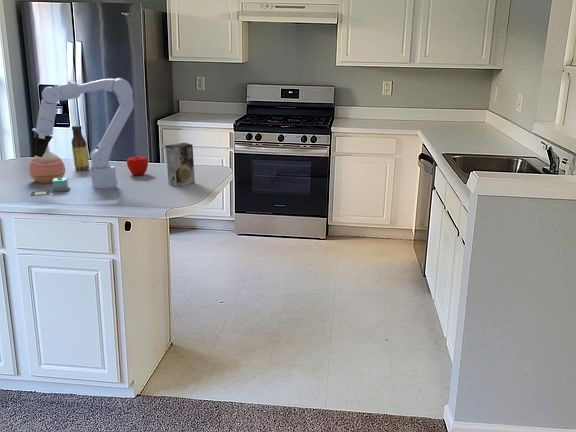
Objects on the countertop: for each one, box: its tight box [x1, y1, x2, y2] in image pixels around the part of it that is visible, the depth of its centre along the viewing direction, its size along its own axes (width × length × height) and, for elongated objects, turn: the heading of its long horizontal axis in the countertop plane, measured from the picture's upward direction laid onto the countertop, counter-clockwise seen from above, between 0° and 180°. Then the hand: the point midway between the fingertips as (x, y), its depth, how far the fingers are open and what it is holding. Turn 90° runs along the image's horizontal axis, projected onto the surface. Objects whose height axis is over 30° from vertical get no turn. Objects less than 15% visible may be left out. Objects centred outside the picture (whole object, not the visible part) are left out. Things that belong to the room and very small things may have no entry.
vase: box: [28, 145, 66, 184], centre depth 229 cm, size 14×14×18 cm
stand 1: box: [30, 190, 52, 197], centre depth 212 cm, size 7×7×1 cm
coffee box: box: [165, 142, 196, 187], centre depth 229 cm, size 9×6×16 cm
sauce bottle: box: [71, 125, 90, 172], centre depth 255 cm, size 7×6×20 cm
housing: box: [51, 177, 69, 193], centre depth 216 cm, size 5×5×4 cm
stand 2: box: [50, 186, 71, 194], centre depth 216 cm, size 7×7×1 cm
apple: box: [126, 156, 149, 176], centre depth 246 cm, size 9×9×8 cm
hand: (40, 155), depth 211 cm, fingers open, 7 cm apart
